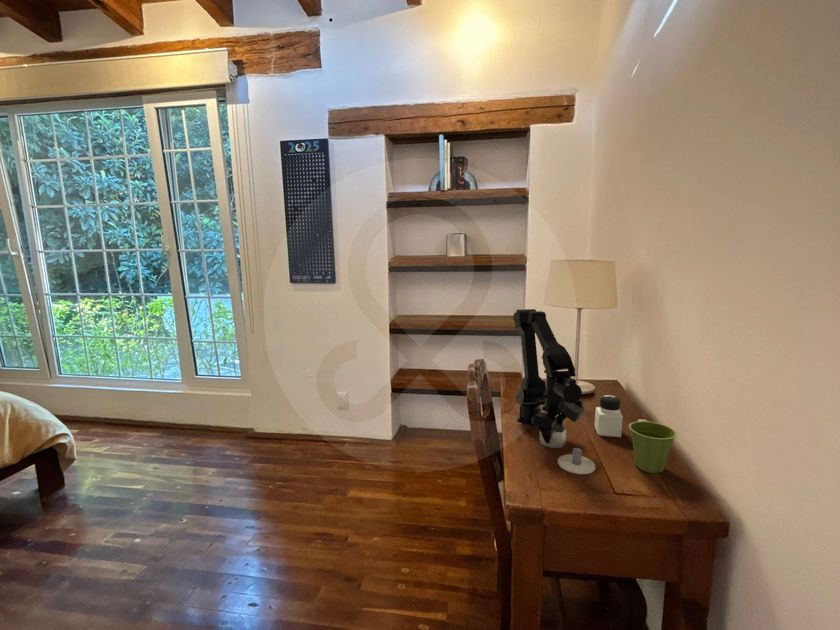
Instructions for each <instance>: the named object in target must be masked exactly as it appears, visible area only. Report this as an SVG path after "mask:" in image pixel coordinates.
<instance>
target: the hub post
mask: <svg viewBox="0 0 840 630" xmlns="http://www.w3.org/2000/svg"><path fill="white" fill-rule="evenodd" d="M582 454H583V450H582V449H581V448H579V447H573V448H572V454H564V455H563V454H562V455H561V456H559V457H558V459H557V465H558V466H559V467H560V468H561V469H562V470H563V471H566V472H568V473H571V474H575V475H590V474H592V473H594V472H595V470H596V464H595V463H594V461H593V460H591V459H589V458H588V457H585V456H582Z"/></svg>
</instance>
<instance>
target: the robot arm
mask: <svg viewBox="0 0 840 630" xmlns="http://www.w3.org/2000/svg"><path fill="white" fill-rule="evenodd" d="M512 320H513V322H514V325H515V326H514V327H515V329H516V330H517V331H518V333H519V335H520V339H521V341H520V342H521V353H522V362H523V374H524V375H523V376H524V377H523V379H522V381H521V383H520V390H519V391H518V392H517V394H516V395H515V399H516V404H518V405H519V417H518V418H516V420H517V421H518V422H521V423H524V424H527V425H531V426H537V428H538V429H539V433H540V432H541V434H542V436H543V438H544V441H545V443H549V442H550V438H551V433H552V429H553V428H555V427H556V426H557V425H556V423H557V424H560V425H563V424H564V421H565V419H567V418H568V419H570V420H569V421H572V422H573V423H574V422H575V423H576V422H577V421H578V420H580V418H581V417H582V415H583V413H584V412H585V407H584V402H583V400H580V399H581V397H582V393H583V390H582V388H581V387H580V385H578V384H577V379H575V377H576V375H577V374H576V368H575V366H574V363H573V360H572V357H571V354H570V353H569V352H568V350H567V349H566V348H565V346H563V345H562V344H560V343H559V342H558V340H557V338H556V336H555V334H554V332H553V329H552V328H551V326H550V324H549V322H548V320H547V315H546V312H545V311H541V310H540V311H537V310H536V309H535V308H527V309H525V308H524V309H521V308H520V309H517V310H516V311H515V312H514V313H513V317H512ZM536 337H537V340H538V342H539V344H540V346H541V350H542V355H541V360H542V365H543V367H544V371H543V372H544V374H546V375H545V377H546V378H545V380H544V379H542V378H541V377H540V372H539V361H538V353H537V352H538V351H537V343H536V342H537V341H536ZM542 411H544V412H542ZM563 426H564V425H563Z"/></svg>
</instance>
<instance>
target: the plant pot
mask: <svg viewBox="0 0 840 630" xmlns="http://www.w3.org/2000/svg"><path fill="white" fill-rule="evenodd" d="M628 428H629V430H630V434H631V438H632V445H633V446H632V447H633V455H634V465H635V466H636V467H637V468H639V470H641V471H643V472H646V473H651V474H655V473H662V472H664V470H665V467H666V463H667V460H668V457H669V453H670V449H671V446H672V445H673V442H674V439H675V438H677V435H678V432H677V431H676V430H675V429H673V428H672V427H670V426H668V425H665V424H662V423H658V422H656V421H655V422H654V421H649V420H647V421H638V420H637V421H634V422H630V423H629V424H628Z"/></svg>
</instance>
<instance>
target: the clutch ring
mask: <svg viewBox="0 0 840 630" xmlns="http://www.w3.org/2000/svg"><path fill="white" fill-rule="evenodd" d="M556 425H557V426H556V427H555V428H553V429H552V433H551V438H550V442H549V443H545V441H544V438H543V436H542V434H541V432H540V431H539V438H538V439H539V442H540V444H541V445H542V446H544V447H548V448H550V449H557V448H559V449H561V448H563V447H564V446H565V445H566V437H567V436H566V435H567V428H566V427H565V426H564V425H560V424H557V423H556Z"/></svg>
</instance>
